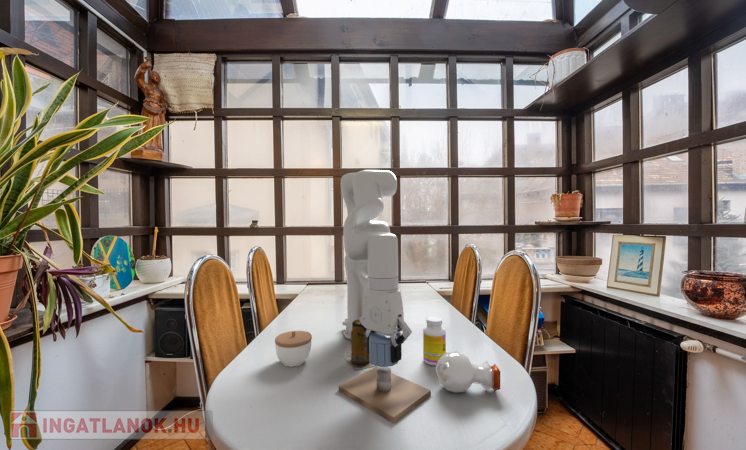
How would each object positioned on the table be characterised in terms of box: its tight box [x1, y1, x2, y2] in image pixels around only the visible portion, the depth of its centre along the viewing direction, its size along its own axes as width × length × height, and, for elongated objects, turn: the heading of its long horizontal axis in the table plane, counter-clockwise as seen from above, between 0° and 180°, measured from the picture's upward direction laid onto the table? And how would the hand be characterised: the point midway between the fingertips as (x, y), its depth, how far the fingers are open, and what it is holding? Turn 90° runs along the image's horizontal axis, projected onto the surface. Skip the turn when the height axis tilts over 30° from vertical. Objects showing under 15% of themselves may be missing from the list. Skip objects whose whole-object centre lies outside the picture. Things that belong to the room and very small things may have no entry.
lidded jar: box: [274, 330, 312, 368], centre depth 92 cm, size 11×11×9 cm
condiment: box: [345, 319, 376, 371], centre depth 92 cm, size 7×8×12 cm
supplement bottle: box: [422, 316, 447, 367], centre depth 92 cm, size 7×7×13 cm
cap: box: [369, 332, 399, 368], centre depth 75 cm, size 7×7×6 cm
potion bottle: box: [435, 350, 501, 394], centre depth 76 cm, size 9×10×15 cm
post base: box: [337, 366, 432, 423], centre depth 75 cm, size 18×14×6 cm
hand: (384, 355), depth 75 cm, fingers closed on cap, 7 cm apart
